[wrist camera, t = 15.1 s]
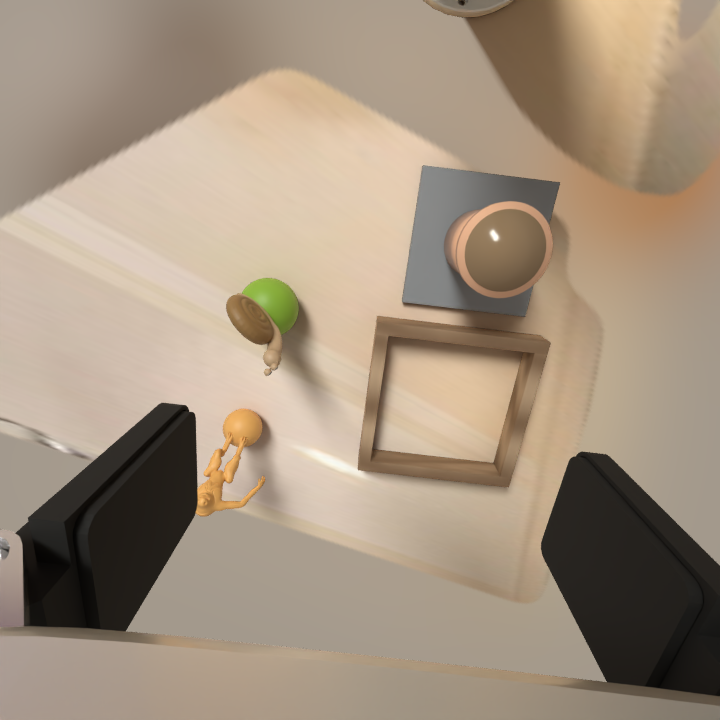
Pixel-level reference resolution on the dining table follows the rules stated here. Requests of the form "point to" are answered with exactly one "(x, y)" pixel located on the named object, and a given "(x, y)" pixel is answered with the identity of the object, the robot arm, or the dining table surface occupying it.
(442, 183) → the grey mat
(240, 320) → the snail figurine
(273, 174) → the dining table surface
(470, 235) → the terracotta pot
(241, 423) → the figurine
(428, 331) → the frame
